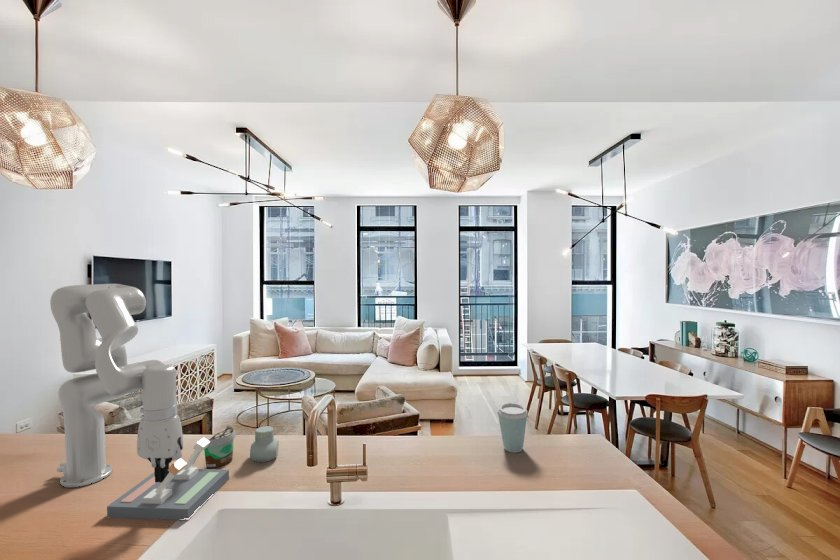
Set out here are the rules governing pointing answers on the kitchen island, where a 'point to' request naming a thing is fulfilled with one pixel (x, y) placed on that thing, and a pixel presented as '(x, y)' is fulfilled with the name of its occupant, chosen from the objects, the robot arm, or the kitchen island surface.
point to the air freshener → (264, 445)
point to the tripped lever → (171, 474)
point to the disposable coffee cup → (512, 425)
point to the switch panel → (169, 503)
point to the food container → (220, 449)
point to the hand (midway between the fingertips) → (162, 479)
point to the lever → (197, 452)
